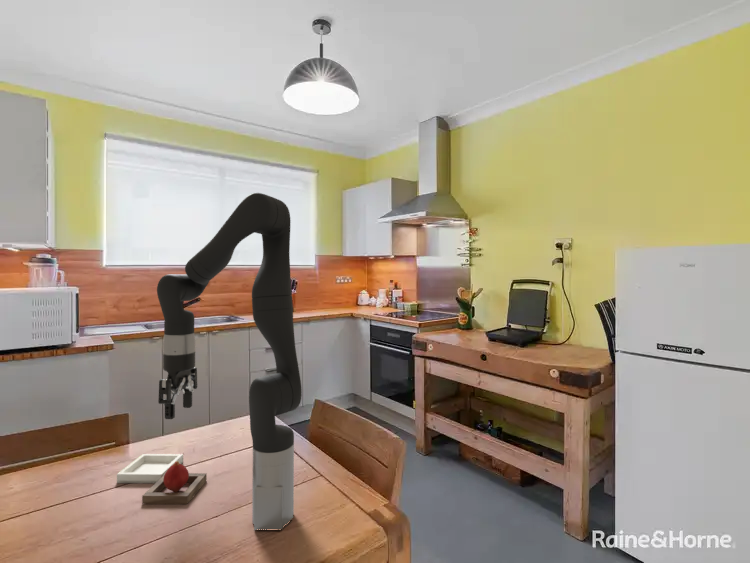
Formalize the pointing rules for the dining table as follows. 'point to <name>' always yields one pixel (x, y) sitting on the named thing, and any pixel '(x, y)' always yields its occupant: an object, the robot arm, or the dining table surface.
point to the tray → (148, 468)
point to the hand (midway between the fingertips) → (179, 412)
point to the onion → (176, 477)
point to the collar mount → (174, 498)
